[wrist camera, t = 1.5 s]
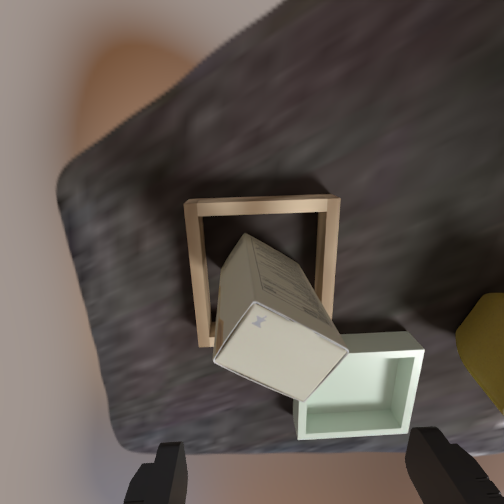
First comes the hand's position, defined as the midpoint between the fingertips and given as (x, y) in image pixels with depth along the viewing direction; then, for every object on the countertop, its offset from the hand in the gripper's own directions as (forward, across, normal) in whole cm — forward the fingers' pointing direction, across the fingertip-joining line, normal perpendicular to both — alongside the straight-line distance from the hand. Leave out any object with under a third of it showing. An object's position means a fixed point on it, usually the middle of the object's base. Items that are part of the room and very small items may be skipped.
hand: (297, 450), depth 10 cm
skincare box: (+17, 0, 0) cm, 17 cm away
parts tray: (+17, -9, +13) cm, 23 cm away
